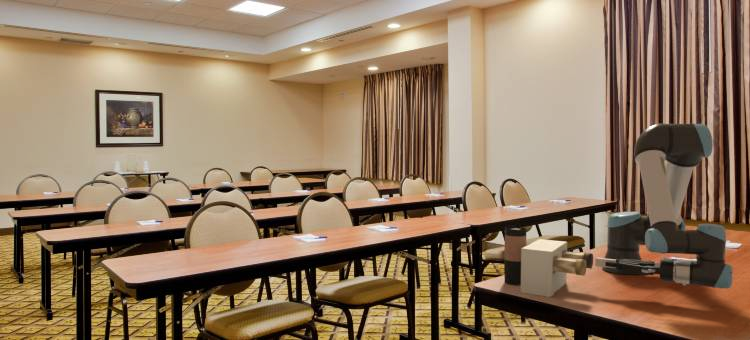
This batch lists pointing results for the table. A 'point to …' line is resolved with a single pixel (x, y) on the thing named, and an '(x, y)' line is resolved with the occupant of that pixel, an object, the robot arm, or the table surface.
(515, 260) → the travel mug
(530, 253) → the housing
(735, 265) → the table surface
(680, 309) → the table surface
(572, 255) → the tan cylindrical part
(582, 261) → the brass plunger
